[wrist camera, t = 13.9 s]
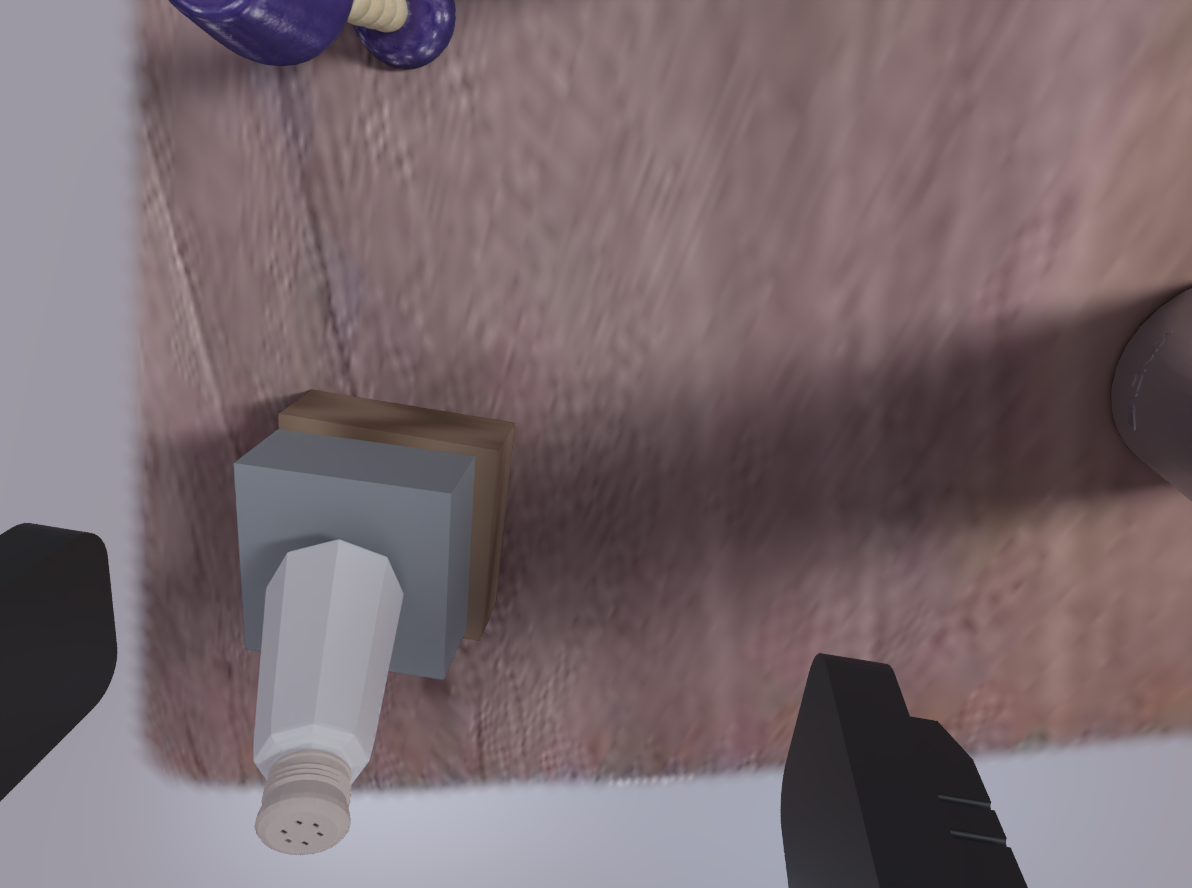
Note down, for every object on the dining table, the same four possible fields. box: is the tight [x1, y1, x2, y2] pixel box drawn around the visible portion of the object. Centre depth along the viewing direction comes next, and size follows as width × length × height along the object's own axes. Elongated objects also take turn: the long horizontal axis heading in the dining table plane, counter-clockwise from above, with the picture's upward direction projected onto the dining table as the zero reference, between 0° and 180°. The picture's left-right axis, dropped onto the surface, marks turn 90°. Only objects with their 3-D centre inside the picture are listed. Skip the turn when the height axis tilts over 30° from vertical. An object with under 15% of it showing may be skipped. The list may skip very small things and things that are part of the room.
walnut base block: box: [278, 390, 515, 641], centre depth 42 cm, size 10×10×4 cm
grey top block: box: [234, 429, 475, 680], centre depth 38 cm, size 9×9×4 cm
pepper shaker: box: [253, 539, 404, 855], centre depth 31 cm, size 5×5×11 cm
